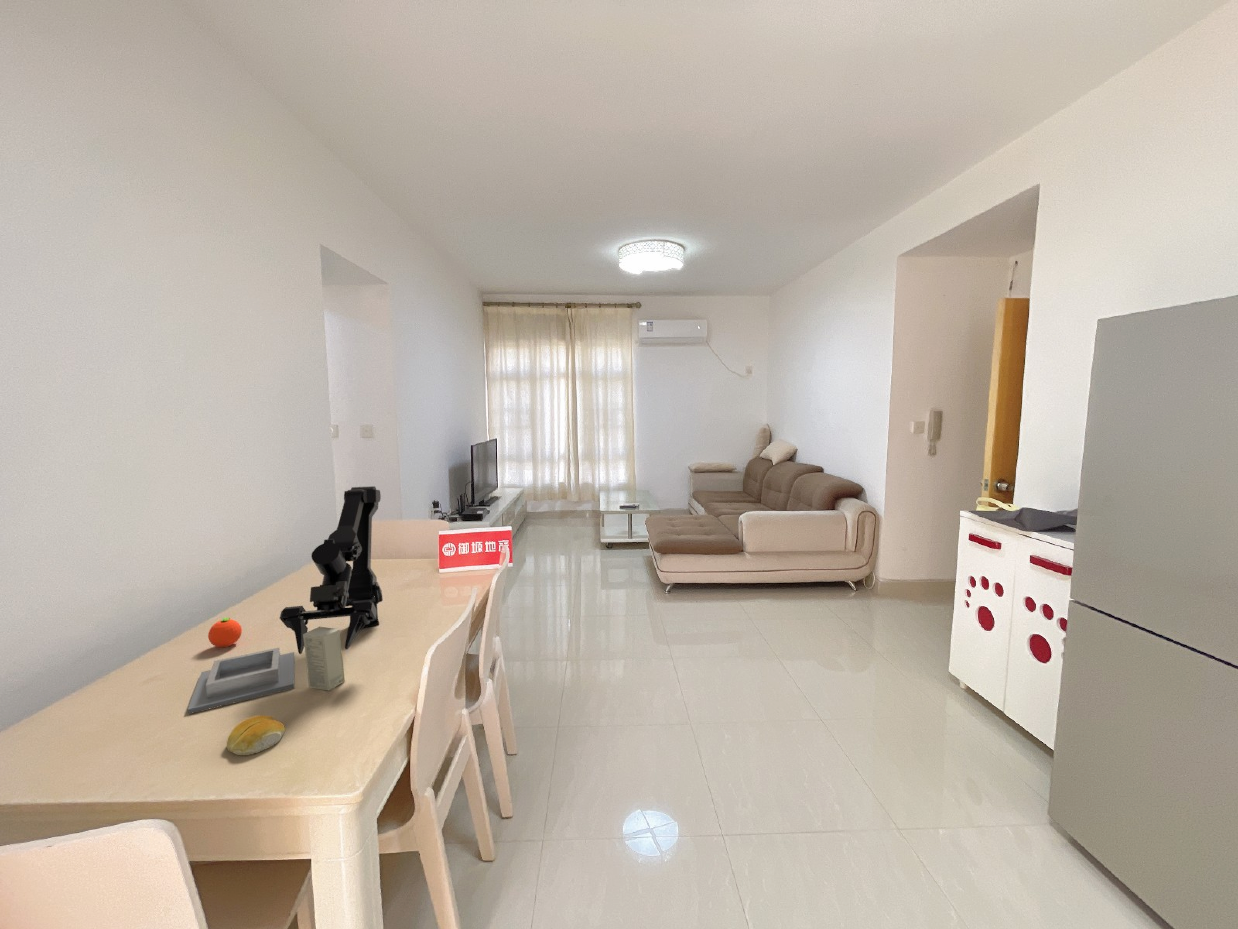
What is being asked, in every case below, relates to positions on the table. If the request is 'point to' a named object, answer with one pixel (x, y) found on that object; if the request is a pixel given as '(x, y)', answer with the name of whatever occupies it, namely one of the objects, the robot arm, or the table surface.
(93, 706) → the table surface
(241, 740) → the bread roll
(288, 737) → the table surface
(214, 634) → the clementine
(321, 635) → the skincare box
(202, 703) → the port base
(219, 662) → the port collar
